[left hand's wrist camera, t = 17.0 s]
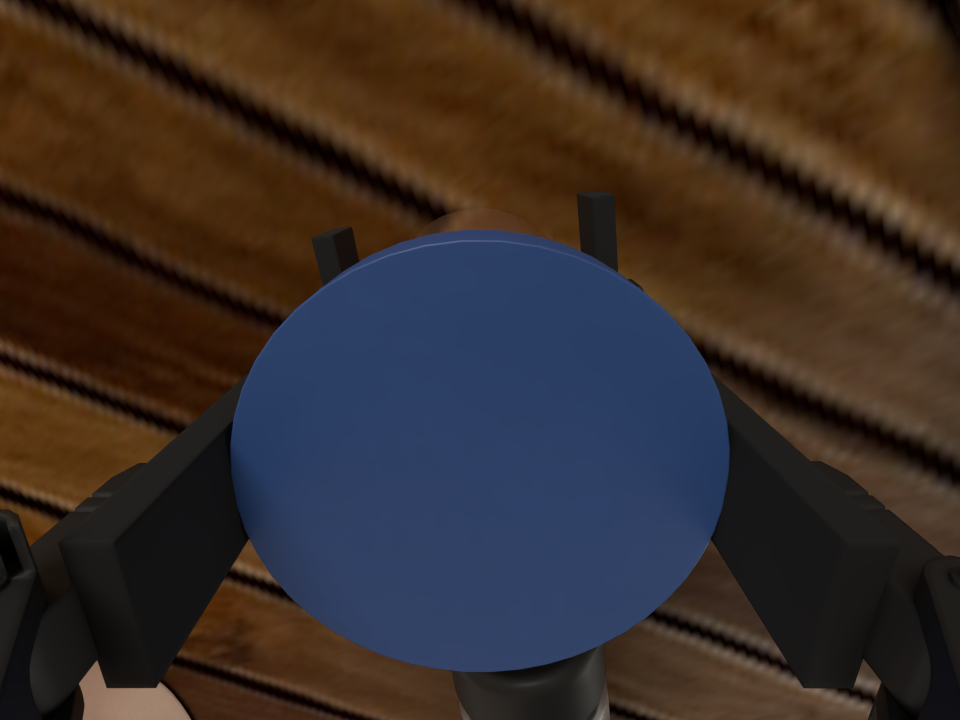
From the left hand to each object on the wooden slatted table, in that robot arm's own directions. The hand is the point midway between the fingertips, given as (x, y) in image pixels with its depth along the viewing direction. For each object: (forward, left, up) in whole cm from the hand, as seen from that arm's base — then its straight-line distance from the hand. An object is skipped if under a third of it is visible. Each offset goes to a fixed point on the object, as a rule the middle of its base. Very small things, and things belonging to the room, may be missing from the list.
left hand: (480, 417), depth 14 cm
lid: (0, 0, +3) cm, 3 cm away
